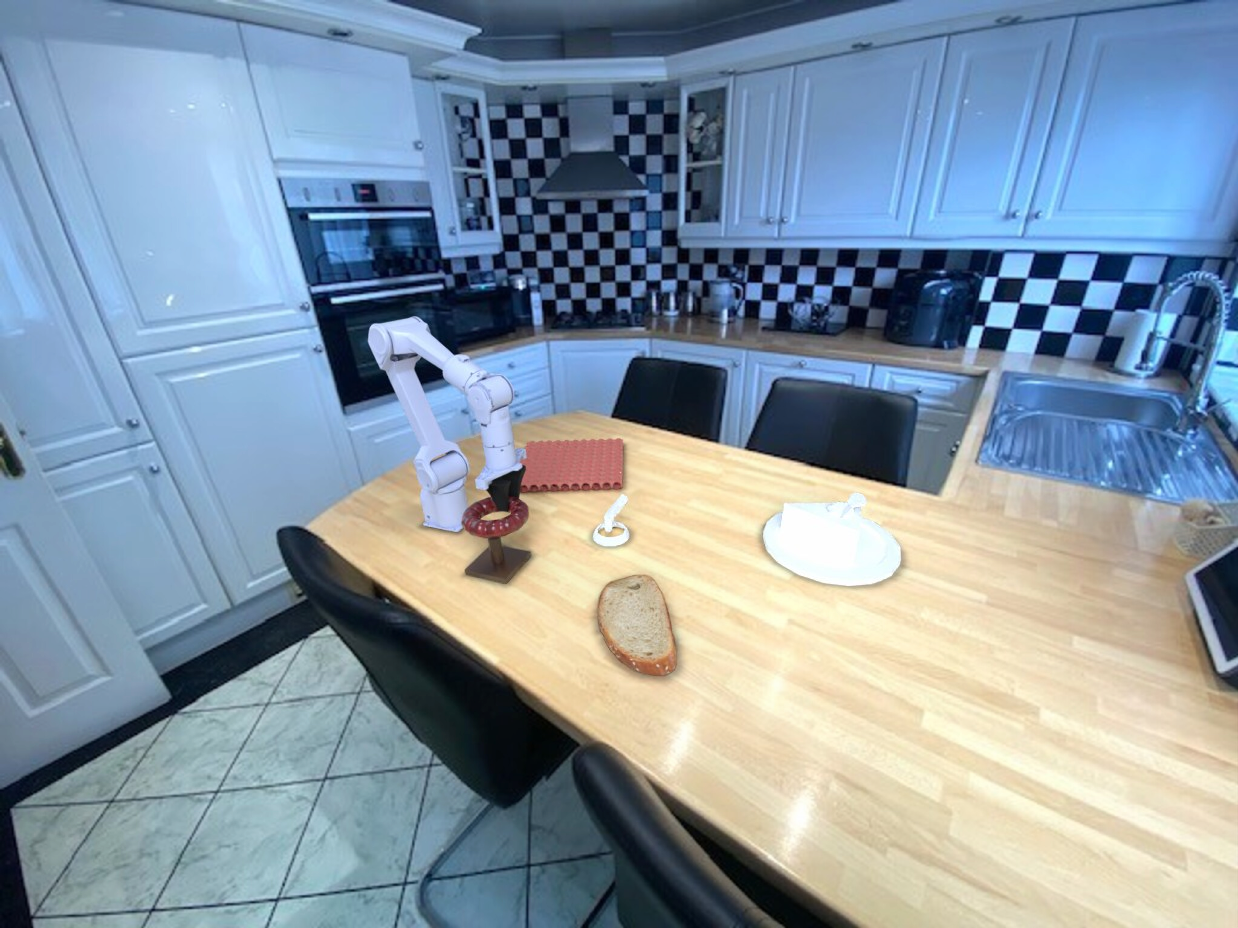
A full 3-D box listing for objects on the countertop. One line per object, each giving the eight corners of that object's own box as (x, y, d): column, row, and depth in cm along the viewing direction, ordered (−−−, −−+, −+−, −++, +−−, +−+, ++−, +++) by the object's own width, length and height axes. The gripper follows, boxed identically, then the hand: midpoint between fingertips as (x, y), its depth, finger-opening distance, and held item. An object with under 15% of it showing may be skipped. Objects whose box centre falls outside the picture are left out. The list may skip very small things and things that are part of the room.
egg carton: (622, 489, 123) (622, 482, 123) (508, 492, 124) (507, 485, 123) (623, 444, 149) (622, 438, 148) (528, 447, 150) (527, 441, 149)
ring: (449, 535, 93) (446, 520, 92) (488, 503, 104) (485, 489, 102) (507, 546, 89) (504, 531, 88) (541, 511, 99) (539, 497, 98)
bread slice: (665, 684, 71) (665, 665, 69) (563, 637, 80) (561, 619, 78) (714, 608, 84) (715, 590, 83) (622, 575, 93) (621, 558, 92)
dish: (897, 524, 105) (908, 476, 100) (901, 600, 84) (915, 543, 79) (774, 503, 114) (779, 458, 109) (752, 566, 94) (756, 514, 89)
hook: (653, 523, 99) (624, 511, 96) (619, 560, 105) (590, 550, 102) (647, 498, 105) (620, 486, 102) (615, 534, 111) (588, 523, 108)
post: (465, 574, 95) (459, 545, 93) (492, 548, 103) (487, 520, 100) (506, 584, 92) (501, 554, 89) (531, 556, 100) (527, 527, 97)
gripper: (494, 460, 86) (505, 527, 92) (536, 429, 98) (543, 491, 104) (460, 455, 89) (473, 521, 94) (505, 426, 101) (514, 486, 107)
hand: (508, 505), depth 100 cm, fingers closed on ring, 3 cm apart
